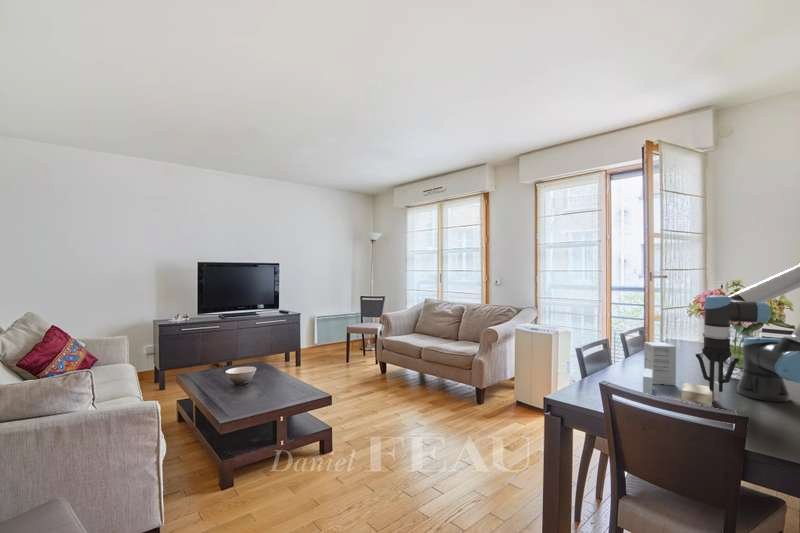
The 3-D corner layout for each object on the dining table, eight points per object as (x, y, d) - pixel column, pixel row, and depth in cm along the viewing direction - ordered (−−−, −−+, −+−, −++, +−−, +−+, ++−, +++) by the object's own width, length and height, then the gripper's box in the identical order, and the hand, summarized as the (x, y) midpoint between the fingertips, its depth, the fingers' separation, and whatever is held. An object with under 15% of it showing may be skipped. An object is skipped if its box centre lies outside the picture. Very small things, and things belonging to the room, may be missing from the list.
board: (652, 388, 163) (652, 369, 163) (652, 398, 151) (652, 377, 151) (644, 386, 165) (644, 368, 165) (643, 396, 153) (643, 376, 153)
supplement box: (676, 385, 166) (676, 346, 166) (652, 384, 168) (652, 345, 168) (665, 379, 176) (666, 342, 175) (643, 378, 177) (643, 341, 177)
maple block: (713, 399, 150) (713, 387, 150) (712, 409, 141) (712, 395, 141) (684, 394, 156) (684, 382, 156) (681, 403, 147) (681, 390, 147)
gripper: (737, 337, 144) (736, 400, 145) (694, 333, 152) (693, 393, 152) (741, 340, 138) (740, 406, 139) (695, 336, 145) (694, 399, 146)
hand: (715, 399), depth 145 cm, fingers closed
